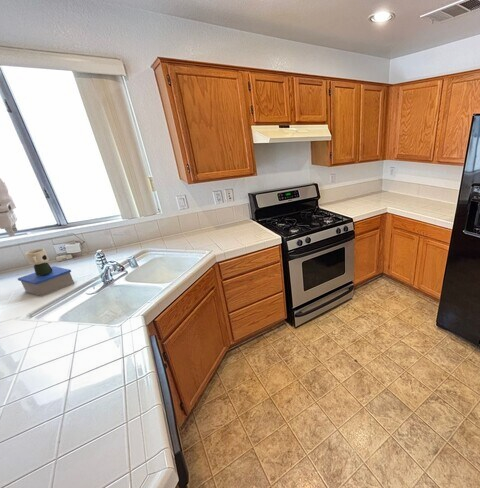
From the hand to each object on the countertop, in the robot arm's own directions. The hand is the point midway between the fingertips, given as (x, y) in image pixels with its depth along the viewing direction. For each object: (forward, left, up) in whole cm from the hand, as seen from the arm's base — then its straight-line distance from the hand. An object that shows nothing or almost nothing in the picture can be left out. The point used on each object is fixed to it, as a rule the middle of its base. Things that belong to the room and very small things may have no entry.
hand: (13, 233), depth 130 cm
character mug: (+3, -5, -23) cm, 24 cm away
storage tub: (+2, -5, -31) cm, 32 cm away
